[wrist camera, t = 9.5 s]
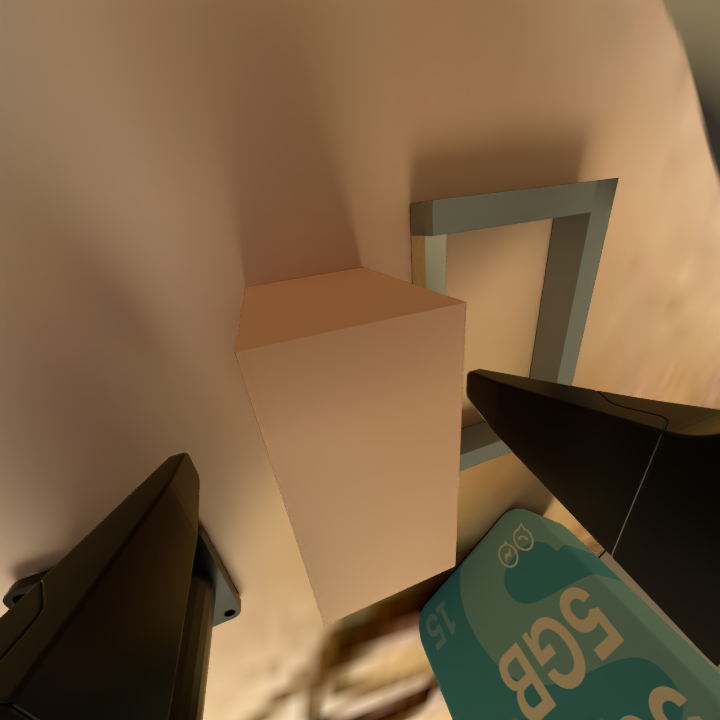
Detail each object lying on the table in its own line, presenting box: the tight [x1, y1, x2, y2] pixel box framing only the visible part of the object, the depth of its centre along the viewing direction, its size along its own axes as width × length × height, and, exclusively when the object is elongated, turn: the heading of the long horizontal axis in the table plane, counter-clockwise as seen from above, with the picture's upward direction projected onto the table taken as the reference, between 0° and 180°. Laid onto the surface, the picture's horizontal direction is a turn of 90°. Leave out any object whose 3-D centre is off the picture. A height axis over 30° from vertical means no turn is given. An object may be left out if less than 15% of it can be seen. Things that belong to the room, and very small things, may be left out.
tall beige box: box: [235, 267, 466, 626], centre depth 9 cm, size 8×4×6 cm, turn 6°
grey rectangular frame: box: [410, 178, 618, 471], centre depth 13 cm, size 12×8×2 cm, turn 6°
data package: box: [419, 509, 720, 720], centre depth 16 cm, size 12×4×12 cm, turn 143°
